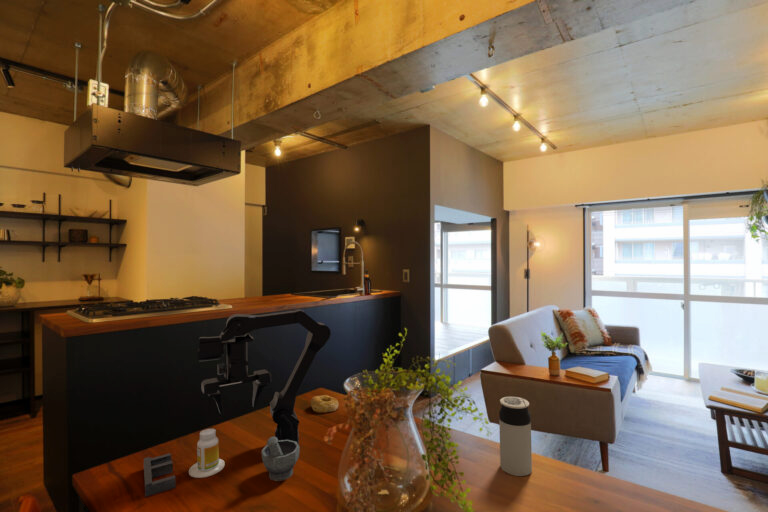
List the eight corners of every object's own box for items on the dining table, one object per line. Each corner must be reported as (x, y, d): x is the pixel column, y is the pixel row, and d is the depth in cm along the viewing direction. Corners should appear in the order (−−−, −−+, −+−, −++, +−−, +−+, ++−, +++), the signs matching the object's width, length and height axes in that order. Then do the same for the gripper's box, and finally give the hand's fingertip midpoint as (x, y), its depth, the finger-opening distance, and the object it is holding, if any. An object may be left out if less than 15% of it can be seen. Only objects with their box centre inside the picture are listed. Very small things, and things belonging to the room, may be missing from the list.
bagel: (328, 416, 137) (328, 402, 137) (305, 411, 142) (304, 398, 143) (344, 406, 146) (343, 394, 146) (321, 402, 151) (321, 390, 151)
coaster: (227, 458, 109) (227, 456, 109) (220, 475, 100) (220, 473, 100) (194, 461, 107) (194, 460, 107) (184, 479, 99) (184, 478, 99)
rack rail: (170, 461, 108) (170, 451, 108) (175, 487, 95) (175, 475, 95) (144, 469, 104) (143, 458, 104) (145, 497, 92) (144, 484, 92)
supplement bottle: (222, 461, 106) (222, 427, 106) (212, 472, 101) (211, 436, 101) (204, 461, 107) (204, 426, 107) (193, 471, 102) (192, 435, 102)
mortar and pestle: (272, 463, 106) (271, 420, 106) (304, 465, 105) (303, 421, 105) (253, 487, 95) (252, 439, 95) (289, 489, 93) (288, 441, 94)
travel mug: (499, 474, 98) (498, 405, 98) (501, 458, 106) (499, 394, 106) (532, 479, 95) (530, 408, 96) (531, 463, 103) (530, 397, 103)
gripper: (261, 347, 123) (261, 395, 123) (198, 356, 113) (198, 408, 113) (271, 354, 114) (272, 406, 114) (204, 365, 103) (204, 422, 103)
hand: (237, 410), depth 111 cm, fingers open, 9 cm apart
